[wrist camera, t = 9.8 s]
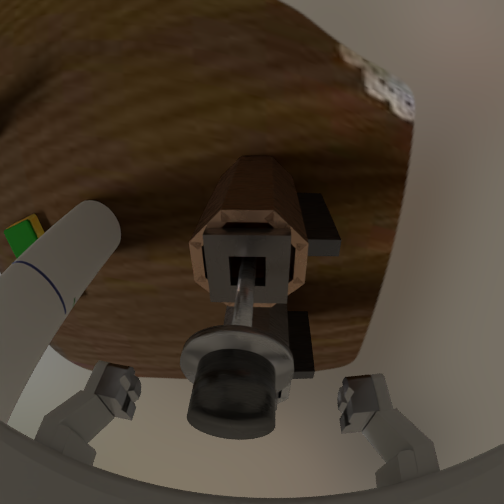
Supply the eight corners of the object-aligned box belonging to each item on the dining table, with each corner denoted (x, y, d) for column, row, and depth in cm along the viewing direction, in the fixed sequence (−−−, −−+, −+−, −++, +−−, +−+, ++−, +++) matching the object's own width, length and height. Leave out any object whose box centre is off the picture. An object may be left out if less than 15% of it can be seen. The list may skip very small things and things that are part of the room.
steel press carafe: (228, 278, 33) (209, 376, 22) (308, 280, 33) (322, 378, 21) (231, 320, 37) (218, 412, 26) (302, 321, 36) (310, 414, 25)
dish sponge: (52, 297, 38) (45, 307, 36) (12, 223, 31) (2, 231, 29) (80, 294, 37) (73, 304, 35) (37, 211, 30) (26, 219, 28)
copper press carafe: (220, 156, 26) (180, 216, 15) (318, 157, 26) (359, 218, 14) (224, 221, 30) (196, 313, 18) (314, 222, 29) (339, 315, 18)
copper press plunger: (215, 210, 18) (151, 385, 8) (286, 210, 18) (304, 395, 7) (220, 268, 20) (181, 439, 10) (283, 269, 20) (290, 446, 10)
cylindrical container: (120, 205, 29) (-32, 399, 8) (122, 259, 33) (17, 445, 12) (70, 196, 29) (-82, 350, 7) (75, 247, 32) (-39, 403, 11)
